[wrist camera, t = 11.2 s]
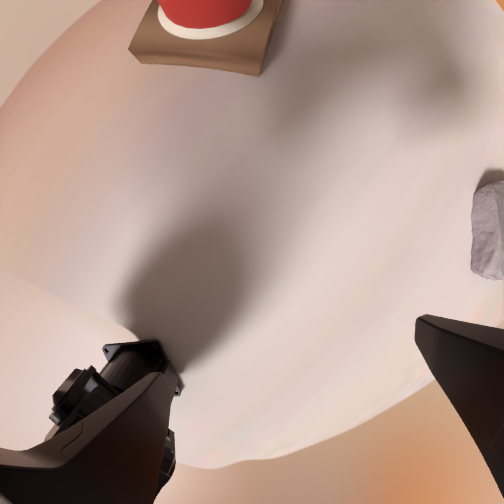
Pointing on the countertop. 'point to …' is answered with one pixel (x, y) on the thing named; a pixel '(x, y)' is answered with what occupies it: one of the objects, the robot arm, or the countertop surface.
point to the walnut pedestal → (208, 40)
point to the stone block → (488, 231)
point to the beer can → (203, 12)
